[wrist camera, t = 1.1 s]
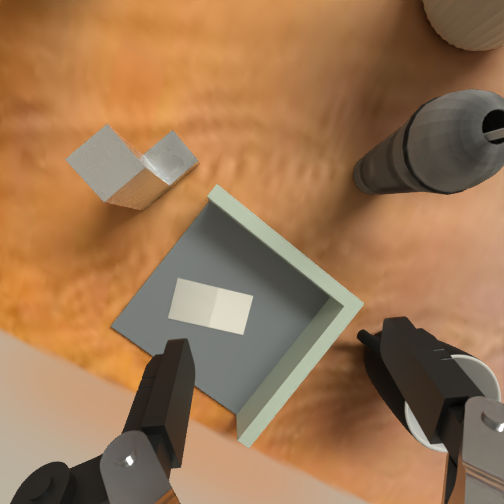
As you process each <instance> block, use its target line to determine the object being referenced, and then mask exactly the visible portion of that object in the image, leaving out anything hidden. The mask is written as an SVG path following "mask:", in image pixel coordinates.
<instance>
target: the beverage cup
mask: <svg viewBox="0 0 504 504" xmlns="http://www.w3.org/2000/svg"><path fill="white" fill-rule="evenodd" d="M503 166H504V98H502V97H501V96H499V95H497V94H495V93H493V92H489V91H483V90H477V89H469V90H463V91H457V92H452V93H448V94H445V95H443V96H440V97H436V98H434V99H432V100H430V101H428V102H427V103H425V104H423V105H421V107H420V108H419V109H418V110H417V111H416V112H415V113H414V114H413V115H412V116H411V118H410V119H409V120H408V121H407V122H406V123H405V124H404V125H403V126H402V127H401V128H399V129H398V130H397V131H395V132H394V133H393V134H391V135H390V136H389V137H388V138H386V139H385V140H384V141H382V142H381V143H380V144H378V145H377V146H376V147H374V148H373V149H372V150H371V151H369V152H368V153H367V154H366V155H365V156H364V157H363V158H361V159H360V160H359V161H358V162H357V164H356V166H355V168H354V174H353V176H354V182H355V184H356V186H357V187H358V188H359V189H360V190H361V191H362V192H364V193H366V194H379V195H381V194H395V193H409V192H431V193H439V194H446V195H449V194H454V193H459V192H462V191H464V190H466V189H468V188H472V187H474V186H476V185H478V184H480V183H482V182H483V181H485V180H487V179H489V178H490V177H492V176H493V175H495V174H496V173H497V172H498V171H499V170H500V169H501V168H502V167H503Z"/></svg>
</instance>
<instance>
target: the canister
mask: <svg viewBox="0 0 504 504" xmlns="http://www.w3.org/2000/svg"><path fill="white" fill-rule="evenodd" d="M422 2H423V3H424V11H425V12H426V14H427V19H428V20H429V21H430V23H431V27H433V28H434V29H435V31H436V33H437V34H439V35H440V36H441V37H442V39H443V40H446V41H447V42H448V43H449V44H450V45H454V46H455V47H456V48H462V49H464V50H472V51H481V50H482V51H487V50H491V49H494V48H499V47H502V46H504V0H422Z"/></svg>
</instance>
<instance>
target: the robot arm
mask: <svg viewBox="0 0 504 504" xmlns="http://www.w3.org/2000/svg"><path fill="white" fill-rule="evenodd" d="M380 352H381V356H382V359H383V361H384V363H385V365H386V367H387V369H388V370H389V372H390V374H391V376H392V378H393V379H394V381H395V383H396V385H397V386H398V388H399V390H400V392H401V393H402V395H403V397H404V399H405V401H406V402H407V404H408V406H409V408H410V409H411V411H412V413H413V415H414V417H415V418H416V420H417V422H418V424H419V425H420V427H421V429H422V431H423V432H424V434H425V436H426V438H427V440H428V441H429V443H430V445H431V444H441V443H443V444H444V446H445V448H446V449H447V451H448V453H447V456H446V465H445V474H444V484H443V494H442V503H441V504H504V404H503V403H501V402H499V401H497V400H494V399H491V398H488V397H486V396H485V395H484V394H483V393H482V392H481V391H480V389H479V388H478V387H477V386H476V385H475V384H474V382H473V381H472V380H471V379H470V378H469V376H468V375H467V374H466V373H465V372H464V371H463V369H462V368H461V367H460V366H459V365H458V363H457V362H456V361H455V360H453V359H452V356H451V355H450V354H449V353H448V352H447V351H446V350H445V349H444V347H443V346H442V345H441V343H440V342H439V341H438V340H437V339H436V338H435V337H434V336H433V335H431V334H430V333H428V332H427V331H425V330H424V329H422V328H418V329H416V328H415V327H414V325H413V324H412V323H411V322H410V320H409V319H408V318H407V317H405V316H403V317H393V318H385V319H384V322H383V329H382V336H381V343H380ZM194 384H195V364H194V360H193V356H192V352H191V349H190V345H189V341H188V339H187V338H181V339H172V340H168V341H167V343H166V346H165V350H164V353H163V354H156V355H155V356H154V357H153V358H152V359H151V360H150V362H149V363H148V364H147V365H146V368H145V371H144V373H143V376H142V380H141V382H140V385H139V387H138V388H139V389H138V390H137V393H136V396H135V399H134V401H133V404H132V407H131V410H130V413H129V415H128V418H127V421H126V424H125V427H124V429H123V431H122V433H121V435H119V436H118V437H117V438H115V439H114V440H113V441H112V442H111V443H110V444H109V445H108V446H107V448H106V450H105V451H104V453H103V454H101V455H100V456H97V457H95V458H93V459H91V460H89V461H86V462H84V463H82V464H79V465H77V466H75V467H72V468H70V469H69V468H68V466H67V465H66V464H65V463H63V462H51V463H48V464H46V465H44V466H42V467H40V468H39V469H37V470H36V471H34V472H33V473H32V474H31V475H30V476H29V477H28V478H27V479H26V480H25V481H24V482H23V483H22V484H21V486H20V487H19V489H18V490H17V492H16V494H15V495H14V497H13V499H12V501H11V503H10V504H180V502H179V500H178V498H177V496H176V494H175V493H174V491H173V489H172V487H171V485H170V483H169V477H170V471H171V469H172V468H180V467H181V464H182V458H183V451H184V445H185V439H186V433H187V427H188V421H189V415H190V409H191V402H192V396H193V390H194Z"/></svg>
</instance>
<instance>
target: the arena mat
mask: <svg viewBox="0 0 504 504" xmlns="http://www.w3.org/2000/svg"><path fill="white" fill-rule="evenodd" d="M329 298H330V296H328V295H327V294H326V293H325V292H323V291H322V290H321V289H320V288H318V287H317V286H316V285H315V284H313V283H312V282H311V281H310V280H308V279H307V278H306V277H305V276H303V275H302V274H301V273H300V272H298V271H297V270H296V269H295V268H293V267H292V266H291V265H290V264H288V263H287V262H286V261H285V260H283V259H282V258H281V257H280V256H278V255H277V254H276V253H275V252H273V251H272V250H271V249H270V248H268V247H267V246H266V245H265V244H263V243H262V242H261V241H260V240H258V239H257V238H256V237H255V236H253V235H252V234H251V233H250V232H248V231H247V230H246V229H245V228H243V227H242V226H241V225H240V224H238V223H237V222H236V221H235V220H233V219H232V218H231V217H230V216H228V215H227V214H226V213H225V212H223V211H222V210H221V209H220V208H218V207H217V206H216V205H215V204H213V203H212V202H211V201H209V202H208V204H207V205H206V206H205V208H204V209H203V210H202V211H201V213H200V214H199V215H198V216H197V218H196V219H195V220H194V221H193V223H192V224H191V225H190V227H189V228H188V229H187V230H186V232H185V233H184V234H183V235H182V237H181V238H180V239H179V240H178V242H177V243H176V244H175V246H174V247H173V248H172V249H171V251H170V252H169V253H168V254H167V256H166V257H165V258H164V259H163V261H162V262H161V263H160V265H159V266H158V267H157V268H156V270H155V271H154V272H153V273H152V275H151V276H150V277H149V278H148V280H147V281H146V282H145V284H144V285H143V286H142V287H141V289H140V290H139V291H138V292H137V294H136V295H135V296H134V297H133V299H132V300H131V301H130V303H129V304H128V305H127V306H126V308H125V309H124V310H123V311H122V313H121V314H120V315H119V316H118V318H117V319H116V320H115V321H114V323H113V324H112V325H111V327H112V328H114V329H115V330H116V331H118V332H119V333H121V334H122V335H124V336H125V337H126V338H128V339H129V340H131V341H132V342H134V343H135V344H136V345H138V346H139V347H141V348H142V349H143V350H145V351H146V352H148V353H149V354H151V355H152V356H153V357H154V356H155V355H156V354H163V353H164V350H165V346H166V343H167V341H168V340H172V339H181V338H187V339H188V341H189V345H190V349H191V352H192V356H193V360H194V364H195V384H194V385H195V386H196V387H198V388H199V389H200V390H202V391H203V392H205V393H206V394H207V395H209V396H210V397H212V398H213V399H215V400H216V401H217V402H219V403H220V404H222V405H223V406H225V407H226V408H227V409H229V410H230V411H232V412H233V413H234V414H236V415H237V413H238V412H239V411H240V410H241V408H242V407H243V406H244V405H245V403H246V402H247V401H248V400H249V398H250V397H251V396H252V395H253V393H254V392H255V391H256V389H257V388H258V387H259V386H260V384H261V383H262V382H263V381H264V379H265V378H266V377H267V376H268V374H269V373H270V372H271V371H272V369H273V368H274V367H275V366H276V364H277V363H278V362H279V361H280V359H281V358H282V357H283V356H284V354H285V353H286V352H287V351H288V349H289V348H290V347H291V346H292V344H293V343H294V342H295V341H296V339H297V338H298V337H299V336H300V334H301V333H302V332H303V331H304V329H305V328H306V327H307V325H308V324H309V323H310V322H311V320H312V319H313V318H314V317H315V315H316V314H317V313H318V312H319V310H320V309H321V308H322V307H323V305H324V304H325V303H326V302H327V300H328V299H329Z"/></svg>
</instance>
